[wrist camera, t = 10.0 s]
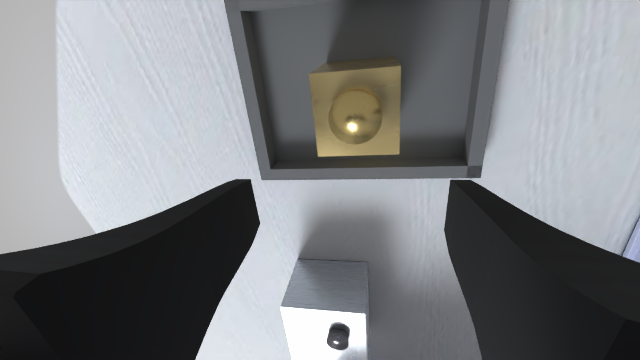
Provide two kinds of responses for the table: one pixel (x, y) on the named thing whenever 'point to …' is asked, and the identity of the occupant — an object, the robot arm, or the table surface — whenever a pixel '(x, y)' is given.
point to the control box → (327, 310)
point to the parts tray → (363, 43)
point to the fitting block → (357, 107)
